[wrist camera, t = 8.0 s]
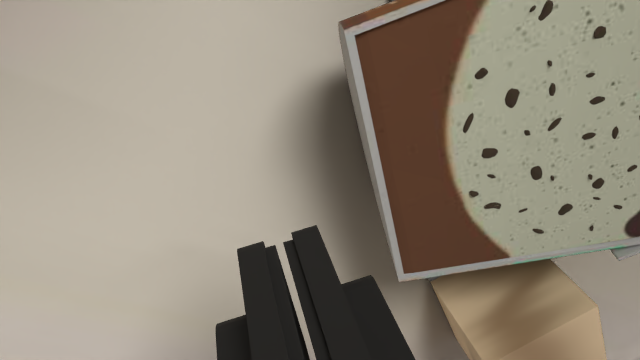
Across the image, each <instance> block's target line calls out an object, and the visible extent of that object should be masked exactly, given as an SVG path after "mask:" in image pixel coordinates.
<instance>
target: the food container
mask: <svg viewBox="0 0 640 360" xmlns="http://www.w3.org/2000/svg"><path fill="white" fill-rule="evenodd" d="M338 26H339V36H340V43H341V49H342V54H343V60H344V65H345V70H346V75H347V80H348V84H349V89H350V94H351V98H352V102H353V107H354V111H355V116H356V120H357V124H358V129H359V133H360V137H361V141H362V145H363V150H364V154H365V158H366V162H367V166H368V170H369V174H370V178H371V182H372V186H373V190H374V193H375V197H376V201H377V205H378V209H379V212H380V216H381V220H382V224H383V228H384V231H385V235H386V238H387V242H388V246H389V249H390V253H391V257H392V260H393V263H394V267H395V270H396V274H397V277H398V281H399V282H404V281H410V280H417V279H423V278H429V277H436V276H442V275H448V274H455V273H461V272H468V271H474V270H480V269H487V268H493V267H499V266H506V265H512V264H518V263H525V262H531V261H537V260H544V259H550V258H556V257H563V256H569V255H576V254H582V253H588V252H595V251H601V250H607V249H610V250H611V252H612V253H613V254H614V255H615V257H616V258H617V259H618V260H619V261H620V260H622V259H625V258H628V257H631V256H633V255H636V254H639V253H640V0H395V1H392V2H390V3H387V4H384V5H382V6H379V7H377V8H374V9H371V10H369V11H366V12H363V13H361V14H358V15H356V16H353V17H350V18H348V19H345V20H343V21H340V22H339V24H338Z"/></svg>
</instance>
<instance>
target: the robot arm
mask: <svg viewBox="0 0 640 360" xmlns="http://www.w3.org/2000/svg"><path fill="white" fill-rule="evenodd" d="M291 234H292V238H293V240H290V241H287V242H283V243H284V247H285V251H286V254H287V258H288V261H289V265H290V268H291V272H292V275H293V279H294V282H295V286H296V289H297V293H298V296H299V300H300V303H301V307H302V310H303V314H304V317H305V321H306V324H307V328H308V331H309V335H310V338H311V342H312V345H313V349H314V353H315V356H316V360H415V358H414V356H413V354H412V352H411V350H410V348H409V346H408V344H407V342H406V340H405V339H404V337H403V335H402V333H401V331H400V329H399V327H398V325H397V323H396V321H395V319H394V317H393V315H392V313H391V311H390V309H389V307H388V305H387V303H386V301H385V299H384V297H383V295H382V293H381V291H380V289H379V287H378V286H377V284H376V282H375V280H374V278H373V277H372V276H371V275H370V276H367V277H363V278H360V279H357V280H354V281H351V282H348V283H345V284H341V283H340V281H339V279H338V276H337V274H336V271H335V269H334V266H333V264H332V262H331V259H330V257H329V254H328V252H327V249H326V247H325V244H324V242H323V240H322V237H321V235H320V232H319V230H318V228H317V226H316V225H315V226H312V227H309V228H305V229H302V230H299V231H295V232H292V233H291ZM237 254H238V261H239V268H240V275H241V283H242V290H243V297H244V305H245V312H246V315H243V316H240V317H237V318H234V319H231V320H228V321H224V322H221V323H218V324H217V325H216V346H217V360H310V359H309V355H308V351H307V348H306V344H305V341H304V337H303V334H302V331H301V327H300V324H299V321H298V318H297V314H296V311H295V308H294V305H293V301H292V298H291V295H290V292H289V288H288V285H287V282H286V279H285V275H284V272H283V269H282V266H281V262H280V259H279V256H278V253H277V249H276V246H275V245H273V246H270V247H267V248H265V245H264V242H263V241H262V242H259V243H256V244H252V245H249V246H246V247H242V248H239V249H237Z"/></svg>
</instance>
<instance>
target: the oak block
mask: <svg viewBox="0 0 640 360" xmlns="http://www.w3.org/2000/svg"><path fill="white" fill-rule="evenodd" d="M431 284H432V287H433V289H434V291H435V293H436V295H437V297H438V300H439V302H440V304H441V306H442V308H443V311H444V313H445V315H446V317H447V319H448V321H449V324H450V326H451V328H452V330H453V332H454V335H455V337H456V339H457V341H458V342H459V344H460V345H461V347H462V348H463V350H464V352H465V353H466V355H467V356H468V358H469V359H470V360H607V359H606V353H605V347H604V340H603V334H602V328H601V321H600V315H599V309H598V305H597V304H596V303H595V302H594V301H593V300H592V299H591V298H590V297H588V296H587V295H586V294H585V293H584V292H583V291H582V290H581V289H580V288H579V287H578V286H577V285H576V284H575V283H574V282H573V281H572V280H571V279H570V278H569V277H568V276H567V275H566V274H565V273H564V272H563V271H562V270H561V269H560V268H559V267H558V266H557V265H556V264H555V263H554V262H553V261H551V260H550V259H544V260H537V261H531V262H525V263H518V264H512V265H506V266H499V267H493V268H487V269H480V270H474V271H468V272H461V273H455V274H448V275H442V276H440V277H439V278H437V279H435V280H433V281H431Z"/></svg>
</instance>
